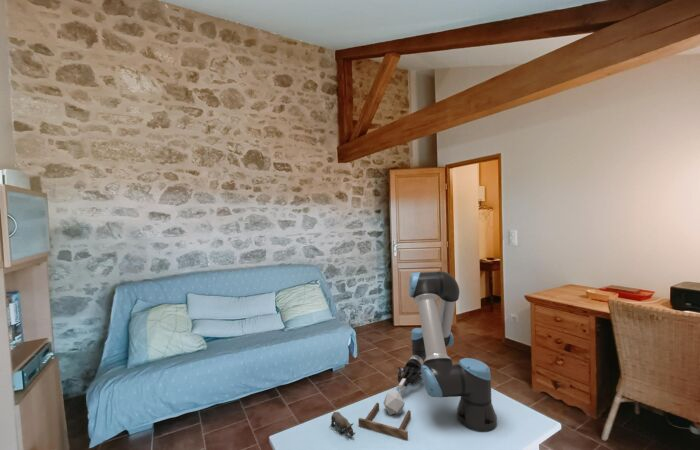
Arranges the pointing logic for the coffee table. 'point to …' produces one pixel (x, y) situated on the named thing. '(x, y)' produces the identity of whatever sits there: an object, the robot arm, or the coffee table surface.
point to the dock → (383, 428)
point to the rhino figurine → (341, 423)
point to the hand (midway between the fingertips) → (400, 388)
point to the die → (394, 403)
